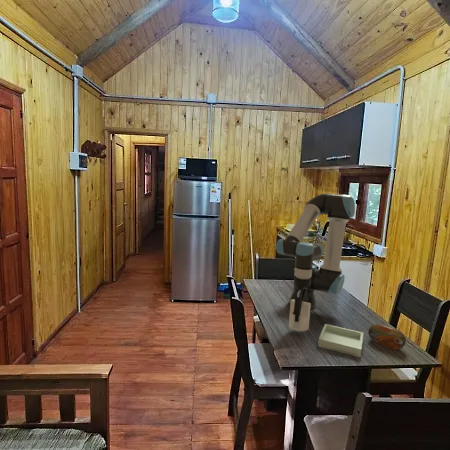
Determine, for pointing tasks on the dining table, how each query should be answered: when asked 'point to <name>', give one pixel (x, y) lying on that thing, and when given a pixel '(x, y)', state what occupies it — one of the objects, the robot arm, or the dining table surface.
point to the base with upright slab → (304, 316)
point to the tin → (387, 336)
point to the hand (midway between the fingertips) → (298, 323)
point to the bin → (341, 340)
